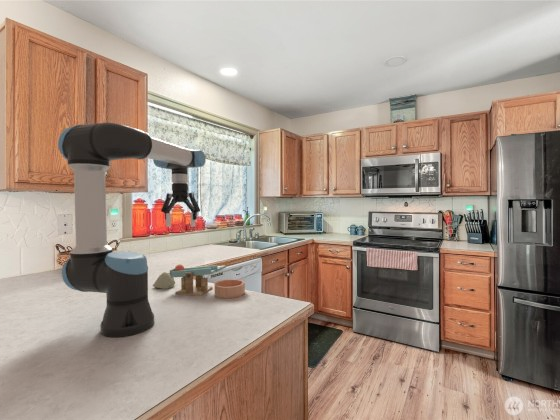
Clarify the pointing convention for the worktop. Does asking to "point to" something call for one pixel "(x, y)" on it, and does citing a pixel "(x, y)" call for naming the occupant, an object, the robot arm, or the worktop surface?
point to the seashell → (164, 281)
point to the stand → (191, 289)
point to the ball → (179, 268)
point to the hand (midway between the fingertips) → (180, 226)
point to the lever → (196, 271)
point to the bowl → (229, 288)
